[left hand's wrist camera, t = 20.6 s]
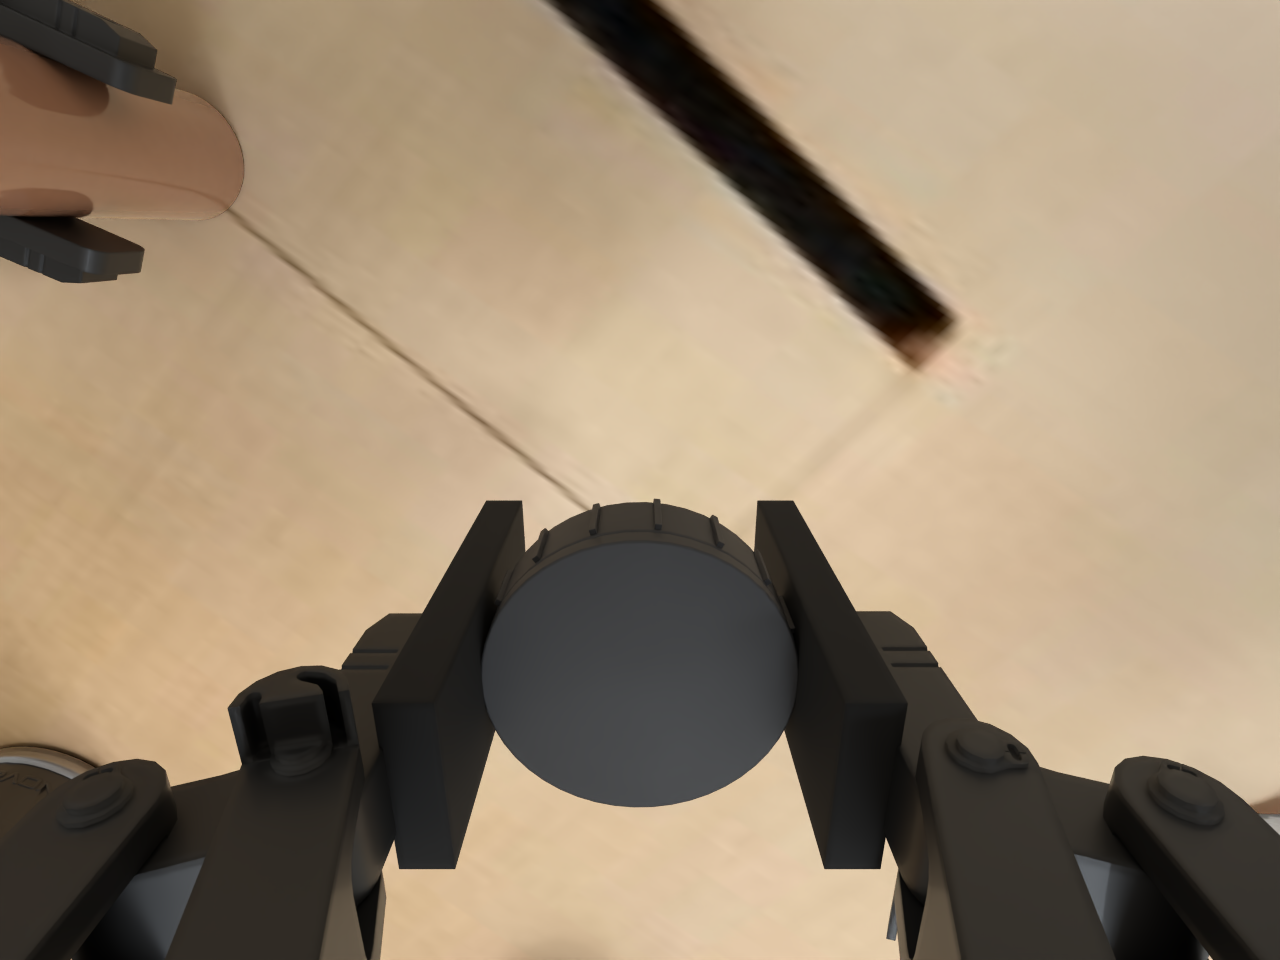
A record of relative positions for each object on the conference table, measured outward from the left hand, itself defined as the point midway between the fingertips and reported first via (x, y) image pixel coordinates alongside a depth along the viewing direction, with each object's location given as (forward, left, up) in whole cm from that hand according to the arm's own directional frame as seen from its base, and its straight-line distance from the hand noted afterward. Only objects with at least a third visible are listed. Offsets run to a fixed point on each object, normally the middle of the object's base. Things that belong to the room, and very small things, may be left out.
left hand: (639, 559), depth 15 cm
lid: (0, 0, +4) cm, 4 cm away
